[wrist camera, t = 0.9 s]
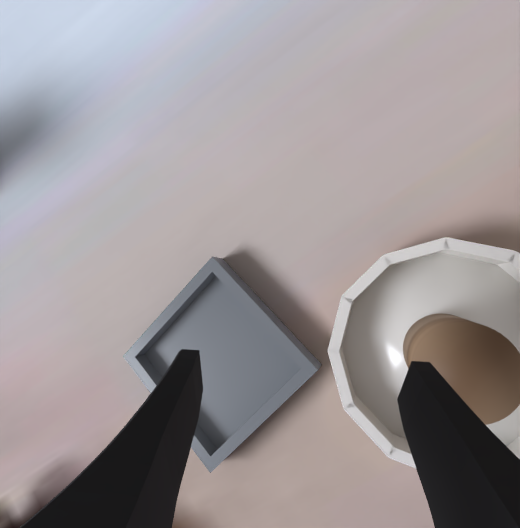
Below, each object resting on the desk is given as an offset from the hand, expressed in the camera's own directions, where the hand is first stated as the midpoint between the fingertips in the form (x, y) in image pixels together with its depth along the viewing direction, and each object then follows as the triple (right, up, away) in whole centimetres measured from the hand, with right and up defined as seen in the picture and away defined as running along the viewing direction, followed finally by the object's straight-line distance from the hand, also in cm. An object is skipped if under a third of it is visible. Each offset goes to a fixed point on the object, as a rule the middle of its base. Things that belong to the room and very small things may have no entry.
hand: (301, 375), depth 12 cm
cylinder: (+10, -2, +10) cm, 15 cm away
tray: (-4, -3, +15) cm, 16 cm away
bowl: (+10, -2, +11) cm, 15 cm away
